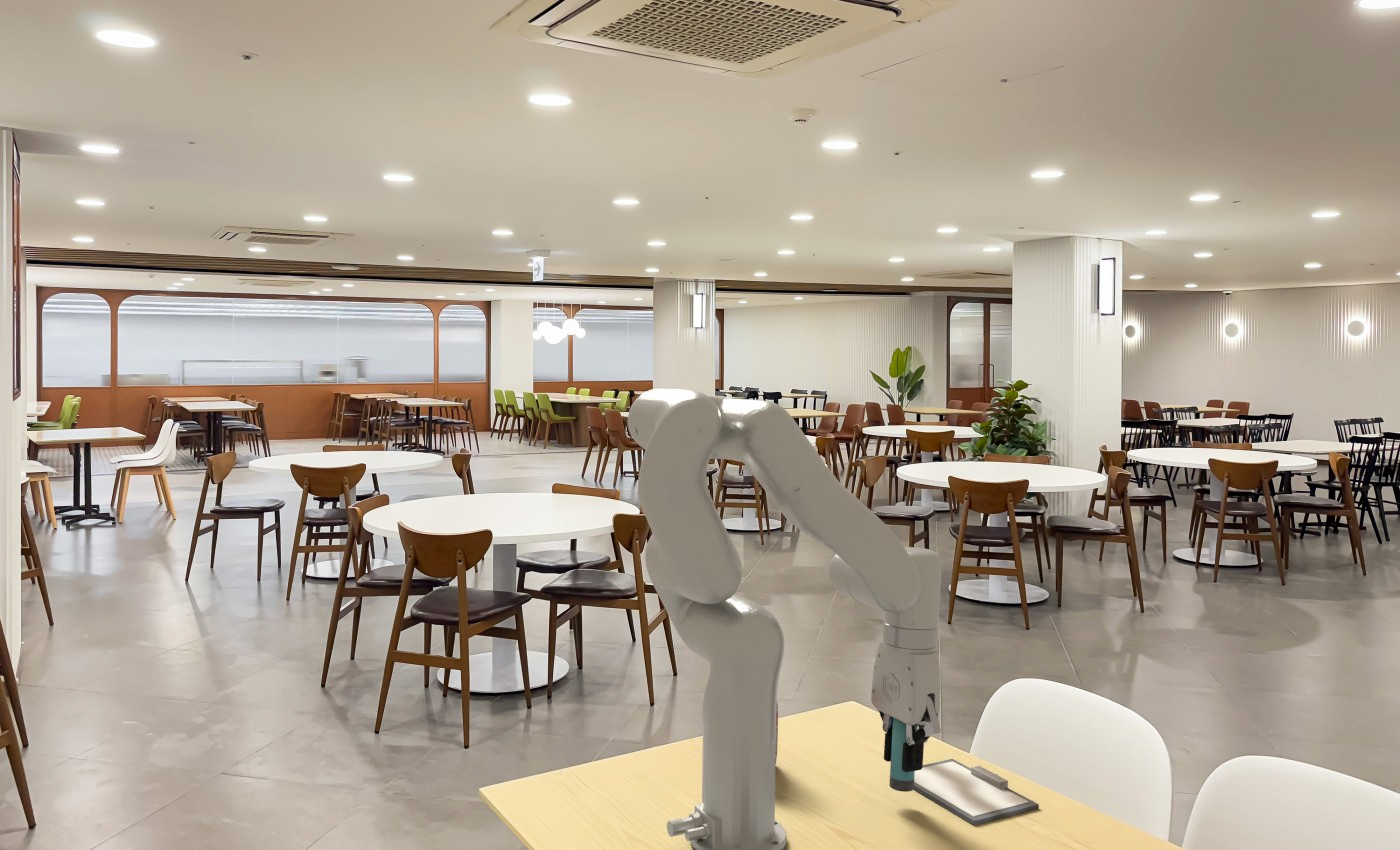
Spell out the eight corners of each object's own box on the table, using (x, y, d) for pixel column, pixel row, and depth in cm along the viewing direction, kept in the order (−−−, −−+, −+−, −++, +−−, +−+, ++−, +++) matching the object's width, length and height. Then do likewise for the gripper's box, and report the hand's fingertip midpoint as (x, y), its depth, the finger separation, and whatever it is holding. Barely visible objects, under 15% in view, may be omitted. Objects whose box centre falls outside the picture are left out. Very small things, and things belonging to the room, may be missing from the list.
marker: (899, 793, 137) (904, 708, 136) (883, 783, 140) (888, 700, 139) (919, 789, 138) (924, 705, 138) (903, 780, 141) (908, 697, 141)
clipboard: (973, 825, 133) (973, 813, 133) (890, 775, 149) (891, 764, 149) (1038, 808, 139) (1039, 796, 139) (952, 762, 155) (952, 751, 155)
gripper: (853, 624, 144) (846, 748, 145) (927, 654, 129) (919, 791, 130) (894, 621, 147) (887, 741, 148) (971, 649, 133) (963, 783, 133)
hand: (902, 763), depth 139 cm, fingers closed on marker, 3 cm apart
